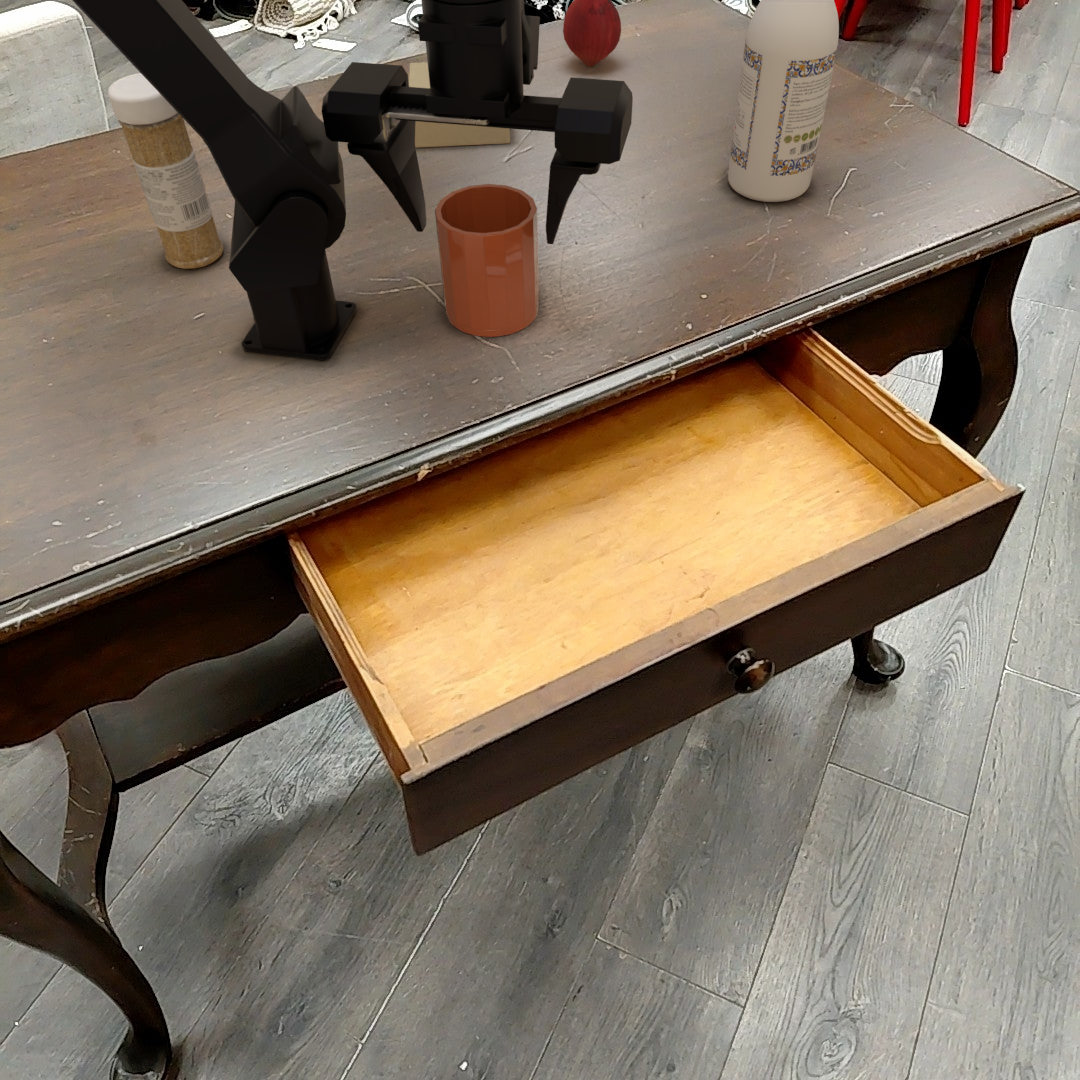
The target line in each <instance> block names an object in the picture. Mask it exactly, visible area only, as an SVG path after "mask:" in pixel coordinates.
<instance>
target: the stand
mask: <svg viewBox="0 0 1080 1080" xmlns="http://www.w3.org/2000/svg"><path fill="white" fill-rule="evenodd" d="M408 81H409V87H417V88H430V82H429V72H428V62H427V61H422V62H419V61H418V62H410V63H409V72H408ZM510 130H511V129H509V128H497V127H484V126H471V125H458V124H446V123H433V122H420V121H415V148H416V149H418V148H435V147H437V148H438V147H455V146H480V145H481V146H482V145H501V144H502V145H503V144H510V143H511V131H510Z"/></svg>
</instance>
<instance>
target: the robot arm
mask: <svg viewBox="0 0 1080 1080" xmlns="http://www.w3.org/2000/svg"><path fill="white" fill-rule="evenodd" d="M72 2H73V3H74V4H75V5H76V6H77V7H78V8H79V9H80V10H81V11H82V13H83V14H84V15H86V16H87V18H88V19H89V20H90V21H91V22H92V23H93V24H94V25H95V26H96V27H97V28H98V30H99V31H100V32H101V33H102V34H103V35H104V37H106V38H107V39H108V40H109V41H110V42H111V44H113V46H114V47H115V48H116V49H117V50H118V51H119V52H120V53H121V54H122V55H123V56H124V57H125V59H127V60H128V61H129V63H130V64H131V65H132V66H134V68H135V69H136V70H137V71H138V73H141V74H142V75H143V76H144V77H145V78H146V79H147V80H148V81H149V82H150V84H151V85H152V86H153V87H154V88H155V89H156V90H157V91H158V92H159V93H160V94H161V95H162V96H163V97H164V98H165V99H166V101H167V102H168V103H169V104H170V105H171V106H172V107H173V108H174V109H175V110H176V111H177V112H178V113H179V114H180V115H181V117H182V118H183V120H184V122H186V124H188V125H189V126H190V127H191V128H192V129H193V131H194V132H196V134H197V135H198V136H199V137H200V138H201V139H202V141H203V142H204V144H205V145H206V147H207V148H208V150H209V152H210V154H211V157H212V158H213V160H214V162H215V164H216V166H217V169H218V170H219V173H220V174H221V176H222V178H223V180H224V182H225V184H226V186H227V189H228V190H229V193H230V194H231V196H232V198H233V199H234V207H233V220H232V230H231V240H230V241H231V242H230V250H229V251H230V252H229V263H228V264H229V265H228V269H229V271H230V272H231V274H232V275H233V276H234V278H236V281H237V282H238V283H239V285H240V286H241V287H242V289H243V290H244V291H245V292H246V295H247V299H248V301H249V305H250V310H251V312H252V317H253V320H254V323H253V325H252V326H251V327H250V330H249V331H248V332H247V334H246V335H245V337H244V338H243V340H242V341H241V346H242V350H243V351H244V352H247V353H256V354H264V355H273V356H282V357H291V358H298V359H299V358H300V359H308V360H317V361H326V360H328V359H330V358H331V356H332V354H333V353H334V352H335V349H336V348H337V346H338V344H339V342H340V340H341V339H342V337H343V335H344V333H346V330H347V328H348V326H349V324H351V321H352V319H353V318H354V315H356V312H357V306H356V303H354V302H353V301H345V300H337V299H336V294H335V290H334V285H333V281H332V275H331V271H330V266H329V261H328V255H327V251H326V250H327V249H329V248H331V247H332V246H333V245H334V244H335V243H336V242H337V241H338V240H339V239H340V238H341V235H342V233H343V231H344V229H345V227H346V221H347V219H346V218H347V207H346V206H347V204H346V190H345V189H346V188H345V175H344V173H345V172H344V164H343V163H344V162H343V159H342V156H341V153H340V151H339V148H340V147H339V143H346V147H347V151H348V153H349V154H350V155H353V156H359V157H362V159H363V160H364V161H365V162H366V163H367V165H368V166H369V167H370V169H371V170H372V171H373V172H374V173H375V174H376V175H377V177H378V178H379V179H380V180H381V181H382V183H383V184H384V185H385V187H386V188H387V190H389V192H390V193H391V195H392V196H393V198H394V199H395V201H396V202H397V204H398V206H399V207H400V208H401V210H402V211H403V213H404V214H405V216H406V217H407V218H408V220H409V222H410V223H411V225H412V226H413V227H414V229H415V230H416V232H418V233H423V232H424V230H425V229H426V227H427V210H426V209H427V206H426V200H425V193H424V187H423V183H422V176H421V171H420V165H419V160H418V154H417V148H415V121H420V122H433V123H446V124H458V125H471V126H484V127H497V128H509V129H510V130H523V131H535V132H548V133H550V132H551V133H554V149H555V152H554V153H553V154H554V155H553V157H552V159H551V162H550V164H549V176H548V190H547V204H546V218H545V219H546V220H545V238H546V243H547V245H554V243H555V240H556V237H557V234H558V231H559V228H560V226H561V223H562V219H563V217H564V213H565V210H566V207H567V204H568V201H569V198H570V196H571V195H572V193H573V192H574V189H575V187H576V185H577V183H578V182H579V180H580V178H581V177H582V176H583V175H586V176H590V175H596V174H597V173H598V172H599V171H600V167H601V165H602V164H603V165H611V164H614V163H617V162H620V161H621V157H622V154H623V151H624V148H625V145H626V142H627V138H628V135H629V133H630V130H631V127H632V118H633V117H632V116H633V100H634V99H633V92H632V90H631V89H630V88H629V86H628V85H627V83H626V82H625V81H624V80H617V79H616V80H614V79H600V78H585V77H574V76H573V77H570V78H569V80H568V82H567V85H566V87H565V90H564V92H563V94H562V97H555V96H553V97H552V96H541V95H540V96H538V95H525V94H524V85H525V86H530V85H531V84H532V82H533V80H534V77H535V75H534V74H535V73H534V72H535V71H537V70H538V68H539V67H538V65H539V64H538V63H539V46H540V45H539V44H540V24H541V23H540V21H541V17H540V16H537V15H536V16H535V15H526V13H525V0H421V11H422V16H421V17H420V18H419V20H418V21H417V27H418V36H419V37H418V39H419V42H425V50H426V60H427V61H426V62H428V72H429V82H430V88H417V87H409V73H408V72H407V71H406V70H405V68H404V66H403V65H401V64H388V63H387V64H385V63H372V62H371V63H370V62H358V61H352V62H350V64H349V65H348V67H346V69H345V70H344V71H343V72H342V74H341V75H340V76H339V78H338V79H337V80H336V81H335V82H334V83H333V84H332V86H331V87H330V89H329V90H328V91H327V92H326V94H325V95H324V96H323V97H322V104H321V115H322V116H321V117H322V120H321V119H320V118H319V117H318V116H317V114H316V113H315V112H314V110H313V108H312V107H311V105H310V103H309V102H308V99H307V98H306V96H305V95H304V93H303V92H302V90H301V89H300V88H299V87H298V86H297V85H296V86H292V87H291V89H289V91H288V92H287V93H286V94H285V96H284V97H283V98H282V99H280V98H279V97H277V96H275V95H273V94H272V93H270V92H268V91H266V90H264V89H263V88H261V87H259V86H258V85H257V84H255V83H254V82H253V81H252V80H251V79H250V78H249V77H248V76H247V75H246V74H245V72H243V70H242V69H241V68H240V67H239V66H238V65H237V64H236V62H235V61H234V60H233V58H232V57H231V56H230V55H229V53H227V52H226V50H225V49H224V48H223V46H221V44H220V43H219V42H218V40H216V39H215V38H214V37H213V35H212V34H211V33H210V31H208V29H207V28H206V26H204V25H203V23H202V22H201V21H200V20H199V19H198V18H197V17H196V15H195V14H194V13H193V12H192V10H191V9H189V7H188V6H187V4H186V3H185V2H184V1H183V0H72Z"/></svg>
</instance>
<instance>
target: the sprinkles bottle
mask: <svg viewBox="0 0 1080 1080" xmlns="http://www.w3.org/2000/svg"><path fill="white" fill-rule="evenodd" d="M107 95H108V99H109V102H110V105H111V107H112V112H113V114H114V116H115V118H116V120H117V122H118V124H119V125H120V126H121V128H122V131H123V134H124V137H125V139H126V143H127V145H128V146H127V147H128V149H129V152H130V154H131V159H132V163H133V164H134V169H135V171H136V175H137V177H138V180H139V182H140V186H141V189H142V192H143V195H144V198H145V201H146V203H147V206H148V209H149V212H150V214H151V217H152V220H153V223H154V225H155V226H156V230H157V232H158V234H159V238H160V240H161V244H162V246H163V249H164V256H165V259H166V261H167V262H168V263H169V264H170V265H172V266H174V268H175V267H176V268H177V269H185V270H186V269H187V270H188V269H192V270H193V269H197V268H198V269H199V268H203V267H206V266H209V265H211V264H213V263H215V262H216V261H217V260H218V259H219V258H220V257H221V256H222V255H223V252H224V244H223V242H222V240H221V239H220V237H219V234H218V230H217V227H216V223H215V219H214V216H213V210H212V207H211V204H210V200H209V197H208V193H207V190H206V186H205V181H204V180H203V176H202V173H201V170H200V169H201V168H200V165H199V162H198V159H197V156H196V153H195V150H194V148H193V145H192V142H191V140H190V139H191V138H190V136H189V133H188V129H187V126H186V123H185V120H184V119H183V118H182V117H181V115H180V114H179V113H178V112H177V111H176V110H175V109H174V108H173V107H172V106H171V105H170V104H169V103H168V102H167V101H166V99H165V98H164V97H163V96H162V95H161V94H160V93H159V92H158V91H157V90H156V89H155V88H154V87H153V86H152V85H151V84H150V82H149V81H148V80H147V79H146V78H145V77H144V76H143V75H142V74H141V73H140V72H138V73H134V74H129V75H126V76H123V77H121V78H119V79H117V80H115V81H114V82H112V84H110V86H109V88H108V89H107Z"/></svg>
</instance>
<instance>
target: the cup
mask: <svg viewBox="0 0 1080 1080" xmlns="http://www.w3.org/2000/svg"><path fill="white" fill-rule="evenodd" d="M434 216H435V224H436V225H435V226H436V235H437V236H436V237H437V245H438V253H439V263H440V273H441V281H442V290H443V291H442V292H443V301H444V307H445V312H446V313H445V314H446V317H447V320H448V322H450V324H451V325H452V326H453V327H455V328H456V329H457V330H458V331H461V332H463V333H465V334H468V335H471V336H476V337H485V338H492V337H493V338H495V337H496V338H497V337H505V336H508V335H512V334H515V333H518V332H520V331H523V329H525V328H527V327H528V326H530V324H532V323H533V322H534V321H535V320H536V318H537V315H538V314H539V303H540V279H539V277H540V276H539V238H538V237H539V232H538V229H539V228H538V207H537V205H536V202H535V199H534V198H533V197H532V196H531V195H529V194H528V193H527V192H525V191H524V190H522V189H519V188H516V187H513V186H510V185H505V184H496V183H494V184H493V183H484V184H475V185H468V186H464V187H462V188H459V189H456V190H452V191H451V192H450V193H448V194H447V195H445V196H444V197H442V198H441V199H439V202H438V203H437V205H436V207H435V208H434Z"/></svg>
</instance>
